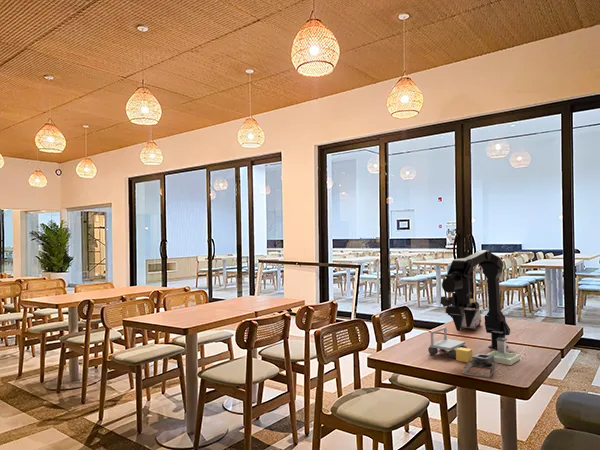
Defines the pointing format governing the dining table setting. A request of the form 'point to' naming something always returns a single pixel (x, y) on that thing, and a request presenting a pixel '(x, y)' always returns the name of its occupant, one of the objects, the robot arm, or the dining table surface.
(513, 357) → the tray
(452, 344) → the trolley
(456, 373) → the dining table surface
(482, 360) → the pin bracket
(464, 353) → the yellow block
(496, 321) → the robot arm
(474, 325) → the toy vehicle
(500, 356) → the stop pin
